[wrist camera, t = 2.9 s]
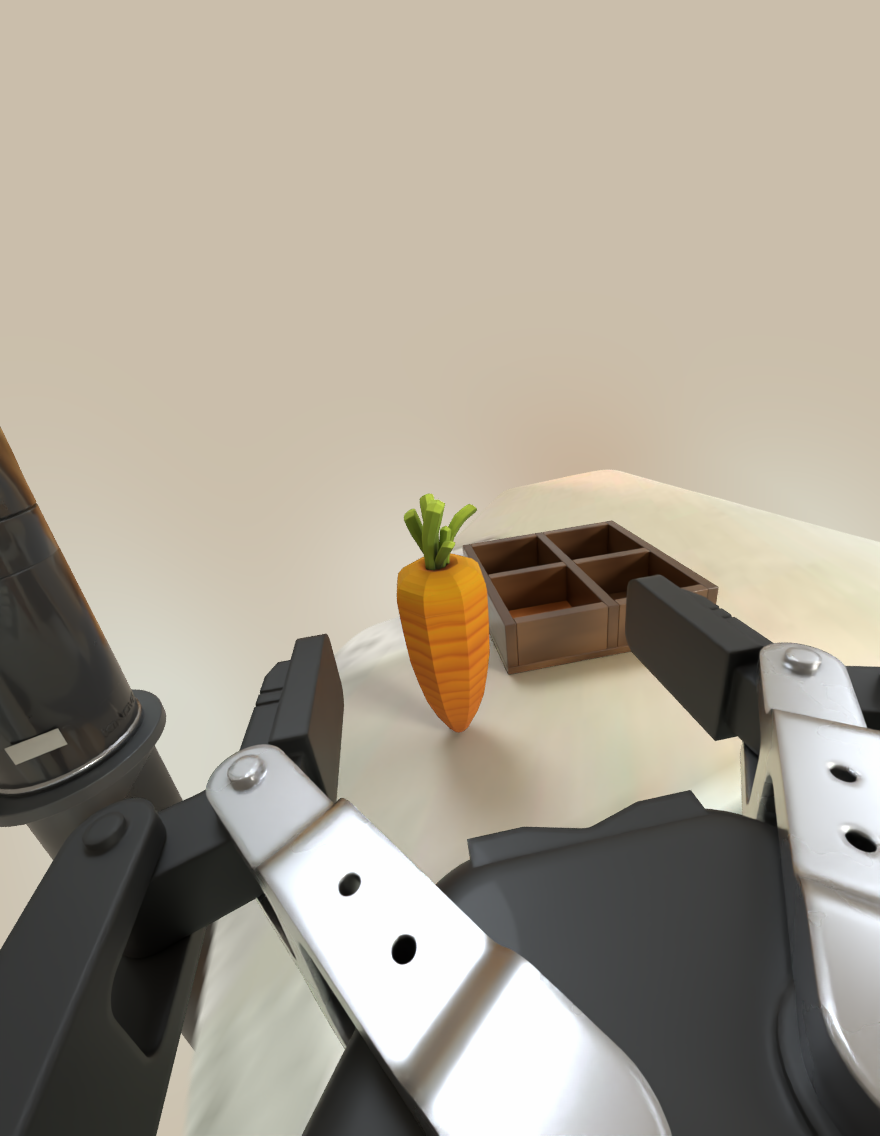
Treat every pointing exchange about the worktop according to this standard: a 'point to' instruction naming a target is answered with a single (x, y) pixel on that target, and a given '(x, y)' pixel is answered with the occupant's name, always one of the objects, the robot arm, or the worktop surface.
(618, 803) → the worktop surface
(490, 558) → the grid
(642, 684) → the worktop surface
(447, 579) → the carrot
